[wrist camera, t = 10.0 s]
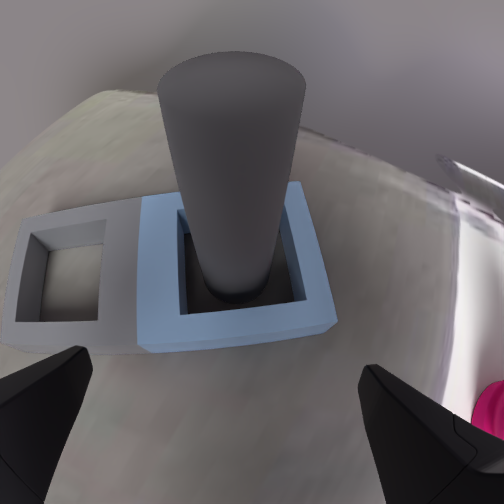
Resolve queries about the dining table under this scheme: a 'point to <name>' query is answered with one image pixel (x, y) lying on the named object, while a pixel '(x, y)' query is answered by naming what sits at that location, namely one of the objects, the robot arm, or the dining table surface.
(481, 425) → the pepper mill
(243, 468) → the dining table surface
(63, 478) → the dining table surface
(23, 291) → the two-hole peg board
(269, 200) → the plug
